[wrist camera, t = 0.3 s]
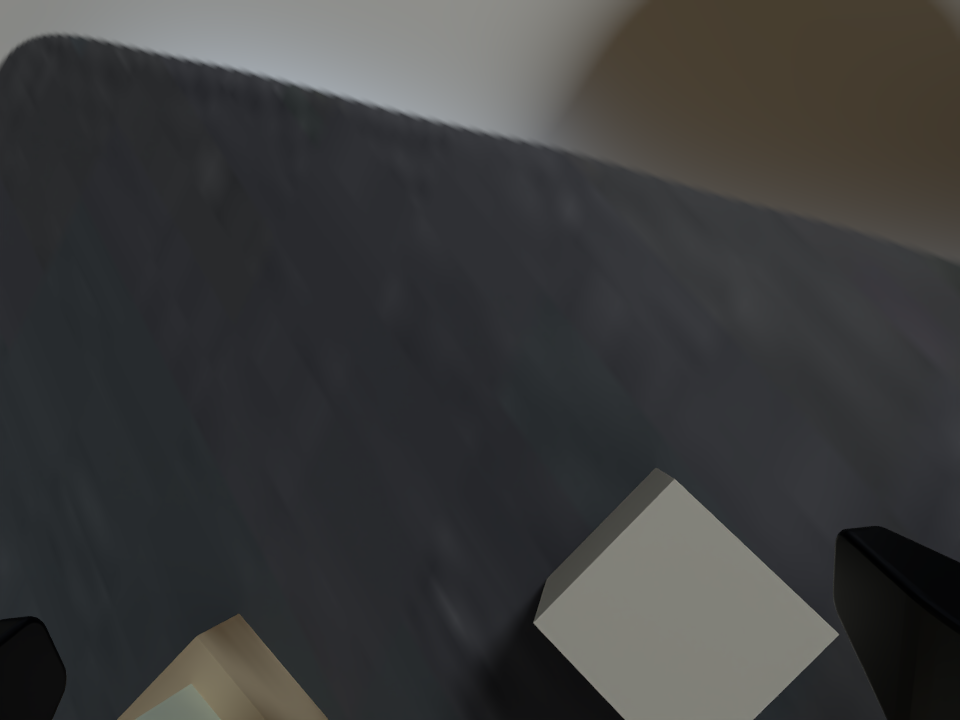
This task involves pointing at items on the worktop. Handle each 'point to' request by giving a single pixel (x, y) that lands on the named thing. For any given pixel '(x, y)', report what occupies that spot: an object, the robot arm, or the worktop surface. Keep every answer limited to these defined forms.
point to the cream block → (677, 613)
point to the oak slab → (231, 678)
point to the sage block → (182, 707)
